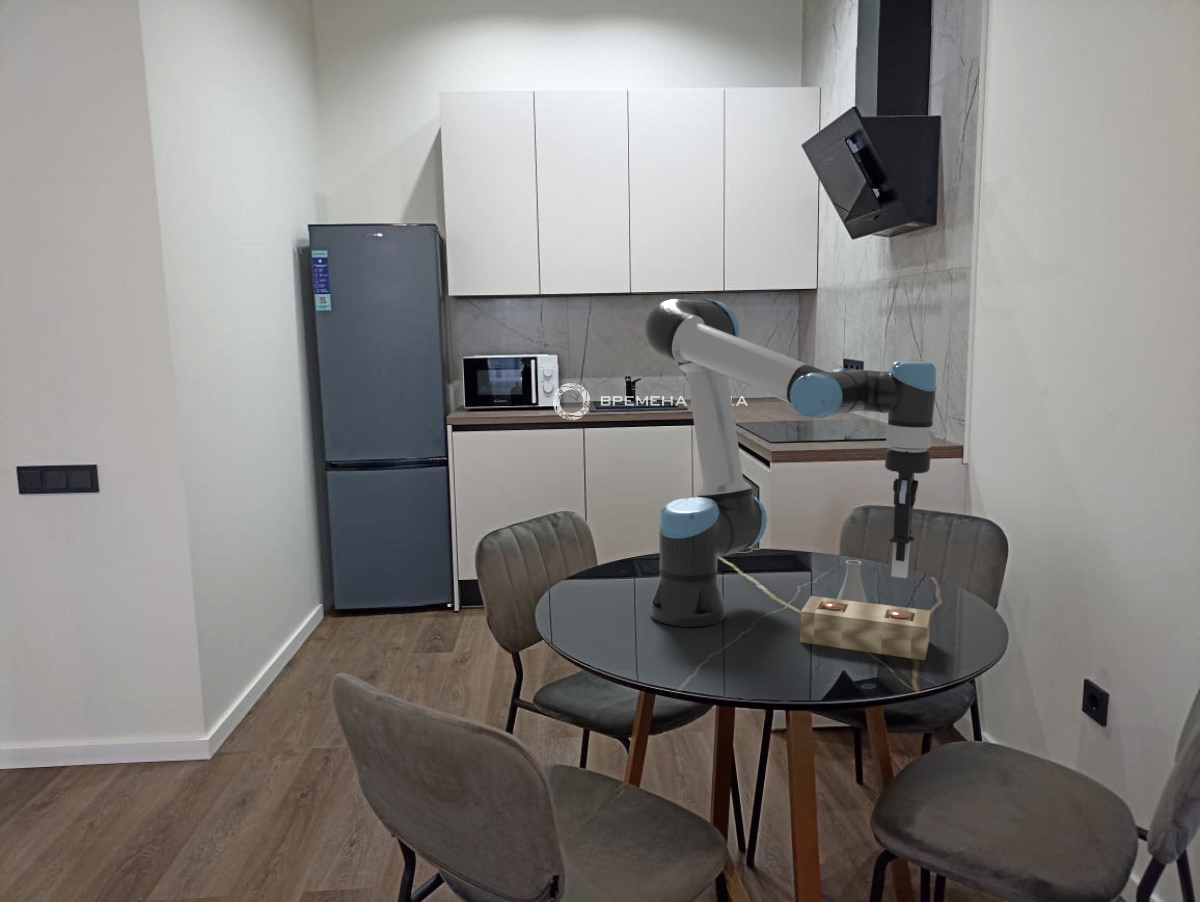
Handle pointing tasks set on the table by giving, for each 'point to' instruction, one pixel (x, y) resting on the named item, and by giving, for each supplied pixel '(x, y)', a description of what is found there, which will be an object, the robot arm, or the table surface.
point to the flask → (852, 583)
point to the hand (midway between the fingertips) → (899, 576)
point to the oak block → (866, 628)
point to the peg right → (899, 614)
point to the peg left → (832, 606)
